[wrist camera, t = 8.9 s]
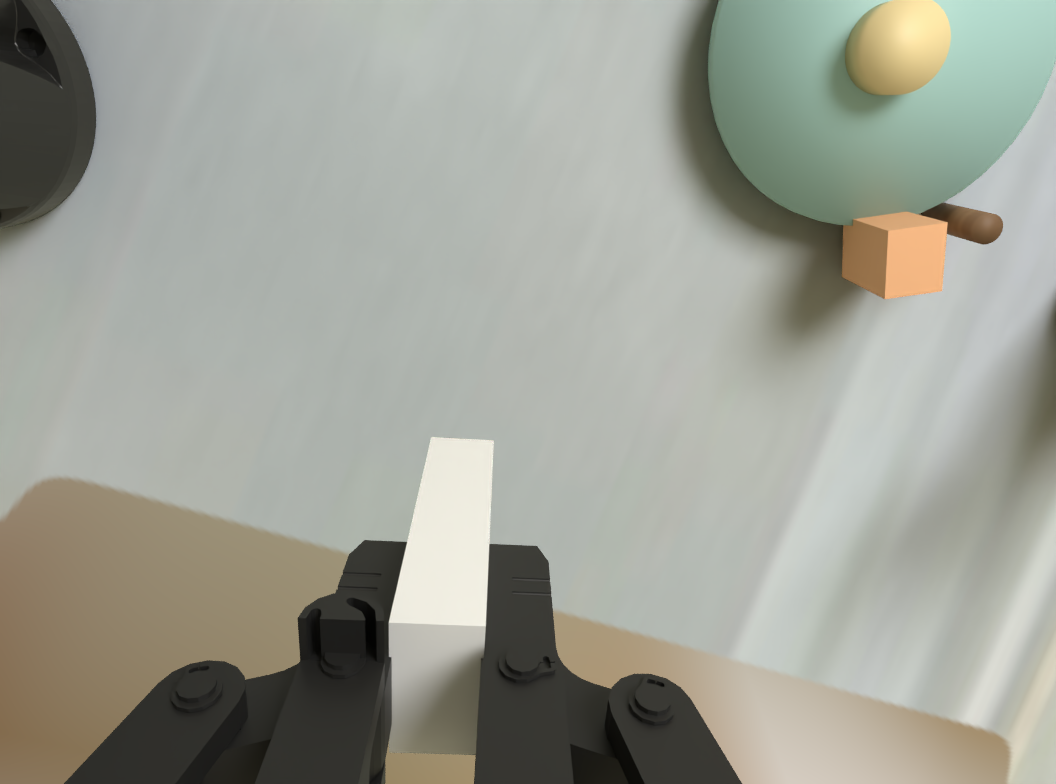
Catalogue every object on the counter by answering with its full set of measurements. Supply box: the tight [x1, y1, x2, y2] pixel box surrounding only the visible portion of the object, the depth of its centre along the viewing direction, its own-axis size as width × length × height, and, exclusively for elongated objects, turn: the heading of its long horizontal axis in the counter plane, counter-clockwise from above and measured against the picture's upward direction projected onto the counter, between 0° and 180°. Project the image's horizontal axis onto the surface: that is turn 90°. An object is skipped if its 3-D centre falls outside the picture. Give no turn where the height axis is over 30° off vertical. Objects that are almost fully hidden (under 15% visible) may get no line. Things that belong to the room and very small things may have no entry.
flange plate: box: [708, 0, 1056, 299], centre depth 36 cm, size 18×21×5 cm
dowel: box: [922, 203, 1003, 244], centre depth 40 cm, size 2×2×5 cm
